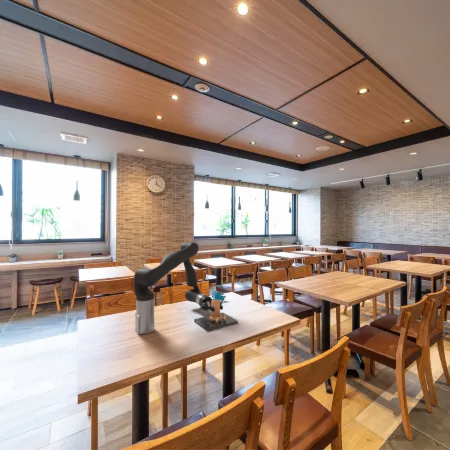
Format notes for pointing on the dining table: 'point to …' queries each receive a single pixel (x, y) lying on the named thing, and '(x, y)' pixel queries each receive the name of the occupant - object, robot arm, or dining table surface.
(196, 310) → the dining table surface
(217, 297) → the teal spiky virus model
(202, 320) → the base plate
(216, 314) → the orange flanged cylinder
